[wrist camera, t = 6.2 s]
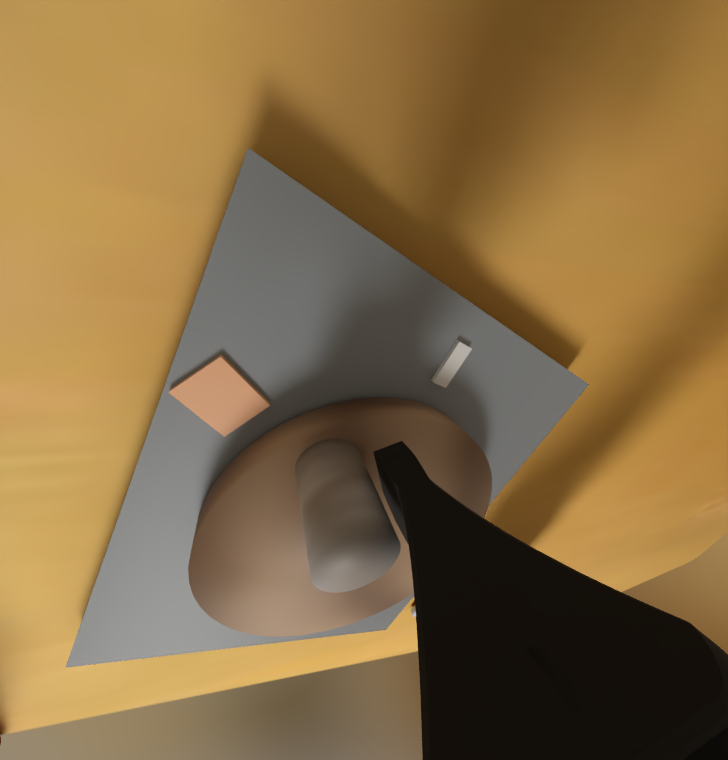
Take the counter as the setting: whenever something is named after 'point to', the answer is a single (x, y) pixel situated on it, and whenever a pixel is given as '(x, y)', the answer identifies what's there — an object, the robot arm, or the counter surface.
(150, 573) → the board
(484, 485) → the dial
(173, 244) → the counter surface
